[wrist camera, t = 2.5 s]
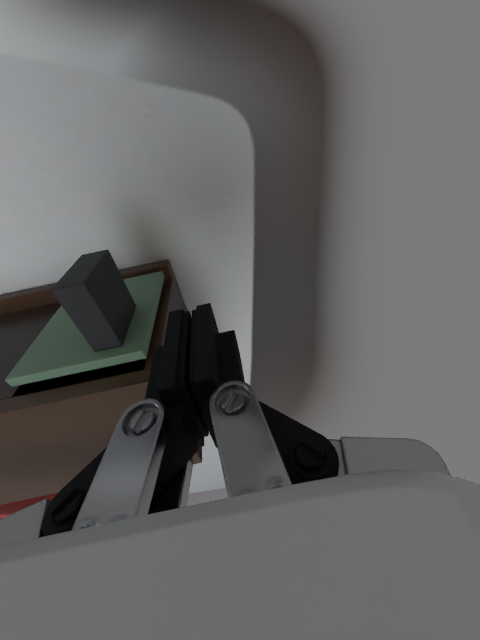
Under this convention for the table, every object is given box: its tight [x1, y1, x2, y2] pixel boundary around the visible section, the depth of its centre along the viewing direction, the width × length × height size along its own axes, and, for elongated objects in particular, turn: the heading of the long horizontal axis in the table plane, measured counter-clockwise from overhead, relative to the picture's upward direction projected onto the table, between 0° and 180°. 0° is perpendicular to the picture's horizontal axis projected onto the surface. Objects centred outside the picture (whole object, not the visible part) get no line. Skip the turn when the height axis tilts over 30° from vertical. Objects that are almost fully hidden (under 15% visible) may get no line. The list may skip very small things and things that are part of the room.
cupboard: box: [0, 260, 202, 505], centre depth 20 cm, size 11×16×12 cm, turn 100°
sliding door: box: [5, 250, 165, 387], centre depth 16 cm, size 5×7×9 cm, turn 100°
